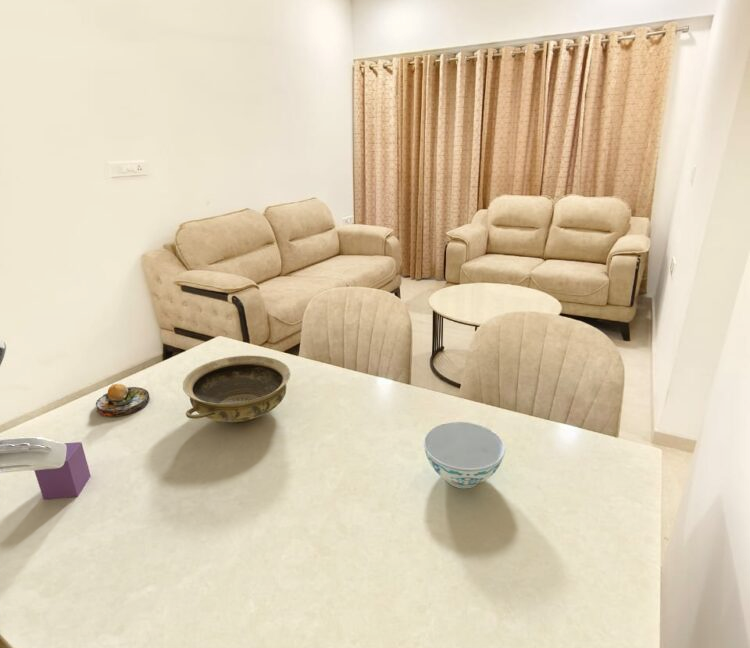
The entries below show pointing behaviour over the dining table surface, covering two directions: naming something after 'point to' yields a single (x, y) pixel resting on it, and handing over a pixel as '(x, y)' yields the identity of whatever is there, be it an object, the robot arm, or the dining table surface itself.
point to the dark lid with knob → (122, 400)
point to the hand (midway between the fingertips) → (16, 466)
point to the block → (65, 475)
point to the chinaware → (463, 452)
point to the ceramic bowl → (236, 388)
